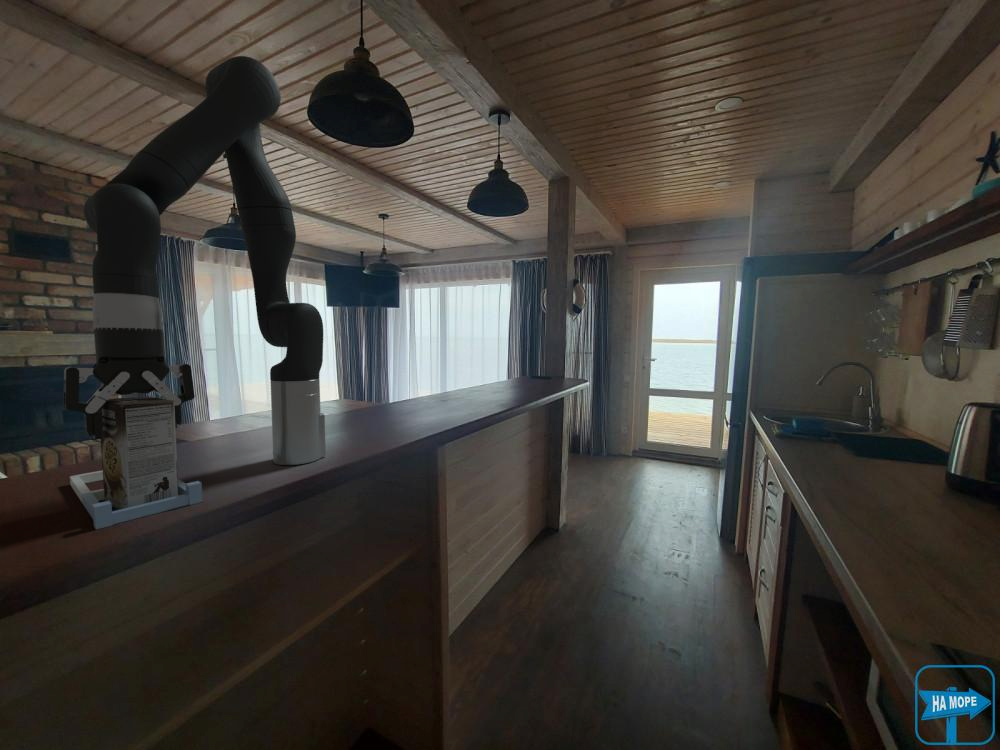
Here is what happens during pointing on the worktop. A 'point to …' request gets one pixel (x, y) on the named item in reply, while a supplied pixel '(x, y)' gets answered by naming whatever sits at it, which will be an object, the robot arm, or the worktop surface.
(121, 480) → the coffee box
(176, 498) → the frame
